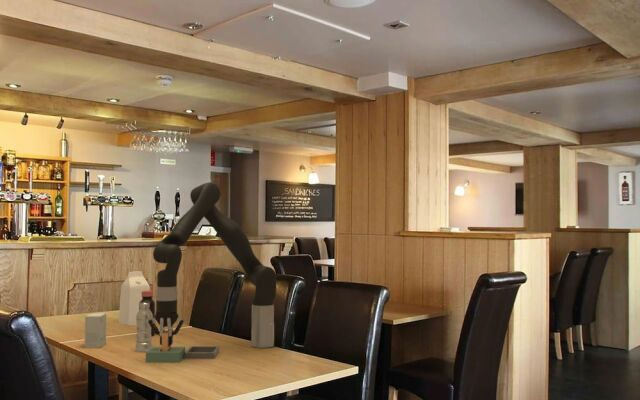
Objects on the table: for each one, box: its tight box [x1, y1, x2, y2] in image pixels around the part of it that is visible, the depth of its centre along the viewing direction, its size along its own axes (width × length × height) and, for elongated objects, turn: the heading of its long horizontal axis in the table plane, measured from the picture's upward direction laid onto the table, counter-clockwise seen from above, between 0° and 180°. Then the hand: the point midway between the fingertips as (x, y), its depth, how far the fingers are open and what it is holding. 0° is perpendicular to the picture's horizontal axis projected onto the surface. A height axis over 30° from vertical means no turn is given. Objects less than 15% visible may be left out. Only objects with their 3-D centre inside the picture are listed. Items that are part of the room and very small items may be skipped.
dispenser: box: [145, 346, 186, 364], centre depth 222 cm, size 12×10×5 cm
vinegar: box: [139, 290, 156, 337], centre depth 275 cm, size 7×7×20 cm
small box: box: [84, 312, 107, 349], centre depth 251 cm, size 8×6×13 cm
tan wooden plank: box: [161, 329, 172, 351], centre depth 222 cm, size 2×6×9 cm, turn 1°
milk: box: [118, 270, 151, 326], centre depth 308 cm, size 12×12×26 cm
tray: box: [183, 345, 220, 360], centre depth 229 cm, size 11×12×4 cm
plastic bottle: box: [135, 302, 154, 353], centre depth 237 cm, size 6×7×20 cm
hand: (166, 346), depth 222 cm, fingers closed on tan wooden plank, 1 cm apart
